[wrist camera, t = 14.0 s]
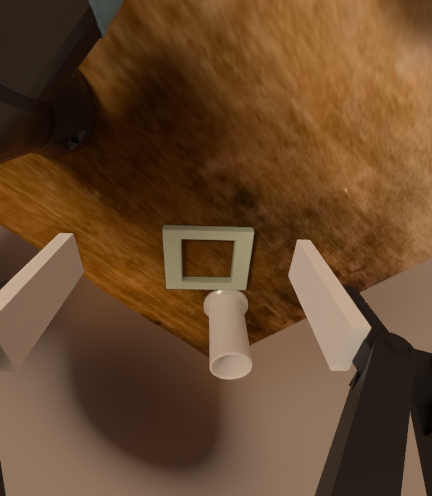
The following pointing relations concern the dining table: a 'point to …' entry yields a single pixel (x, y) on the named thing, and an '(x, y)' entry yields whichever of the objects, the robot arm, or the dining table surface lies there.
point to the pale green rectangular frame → (179, 232)
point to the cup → (228, 338)
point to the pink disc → (221, 292)
